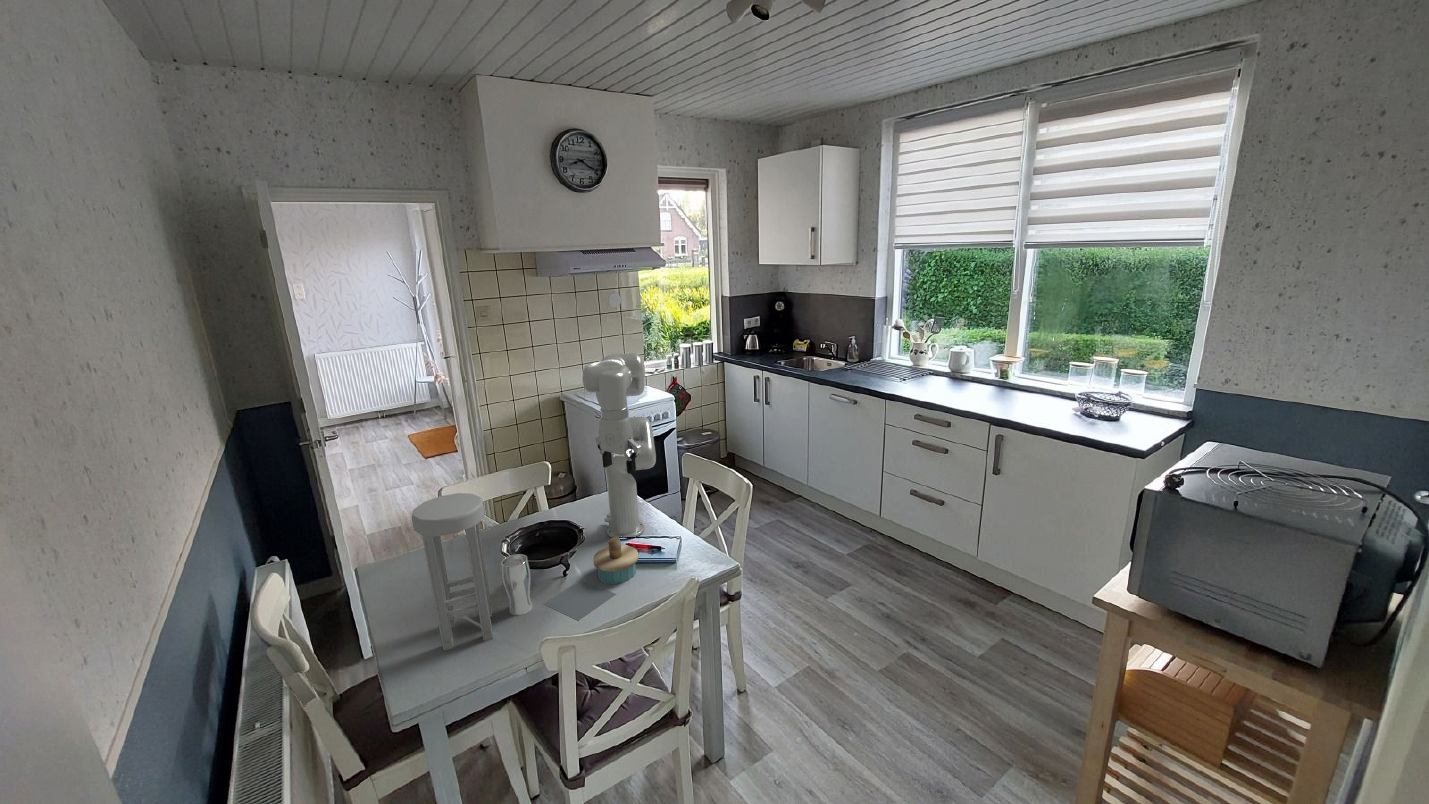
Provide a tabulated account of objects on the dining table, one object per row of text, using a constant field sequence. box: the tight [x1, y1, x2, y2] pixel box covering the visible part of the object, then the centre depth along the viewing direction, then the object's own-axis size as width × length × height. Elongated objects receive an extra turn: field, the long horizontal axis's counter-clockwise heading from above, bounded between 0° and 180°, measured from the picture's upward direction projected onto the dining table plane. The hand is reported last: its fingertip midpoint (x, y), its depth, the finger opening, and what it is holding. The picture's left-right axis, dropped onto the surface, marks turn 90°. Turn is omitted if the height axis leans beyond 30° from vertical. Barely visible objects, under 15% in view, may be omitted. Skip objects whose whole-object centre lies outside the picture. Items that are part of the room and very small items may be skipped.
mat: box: [542, 579, 617, 622], centre depth 160 cm, size 14×14×1 cm
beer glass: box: [500, 553, 534, 616], centre depth 155 cm, size 7×7×15 cm
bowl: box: [597, 563, 637, 585], centre depth 171 cm, size 11×11×5 cm
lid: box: [592, 537, 639, 572], centre depth 170 cm, size 13×13×6 cm
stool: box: [411, 492, 494, 651], centre depth 144 cm, size 16×16×35 cm
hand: (619, 469), depth 172 cm, fingers open, 9 cm apart
